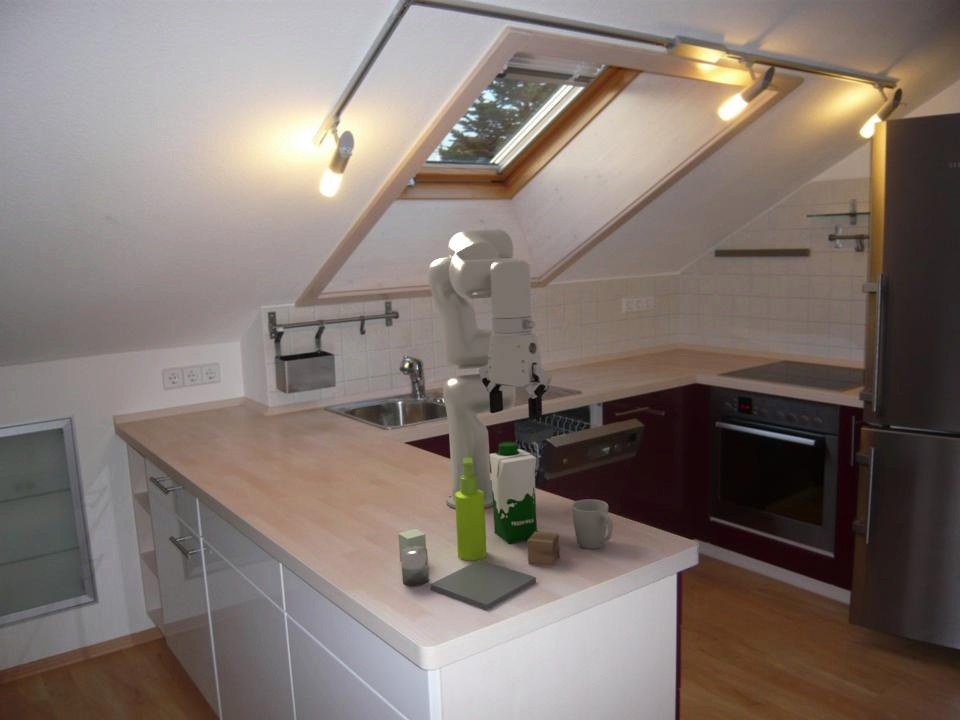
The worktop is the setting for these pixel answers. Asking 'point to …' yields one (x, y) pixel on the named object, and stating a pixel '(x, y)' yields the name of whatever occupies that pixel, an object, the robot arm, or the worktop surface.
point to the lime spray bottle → (470, 516)
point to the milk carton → (513, 493)
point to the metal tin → (414, 566)
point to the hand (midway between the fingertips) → (515, 414)
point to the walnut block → (543, 548)
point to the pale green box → (411, 539)
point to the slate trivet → (483, 584)
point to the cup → (591, 523)
